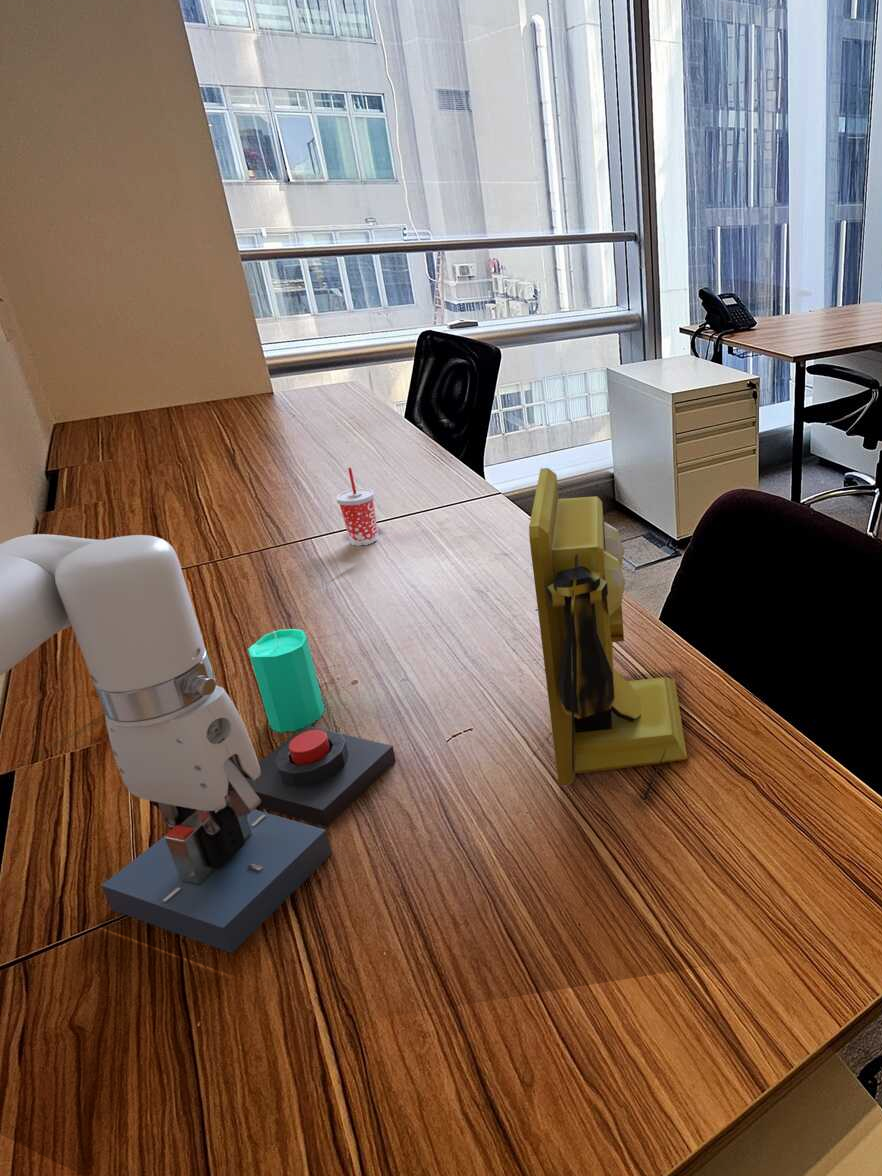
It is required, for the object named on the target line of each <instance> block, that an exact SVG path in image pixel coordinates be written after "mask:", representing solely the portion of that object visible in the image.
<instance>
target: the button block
mask: <svg viewBox="0 0 882 1176" xmlns="http://www.w3.org/2000/svg"><path fill="white" fill-rule="evenodd" d="M311 730H321V731H324V732H325V733H326V734H327V738H328V742H329V746H330V750H329V753H328V754H327V755H326V756H325V757H323V758H322V759H320V760H318V761H315V762H313V763H311V764H304V765H297V764H295V763H294V762H293V761H292V758H291V754H290V750H289V744H290V742H291V741H292V739H294V738H295V737H296V736H298V735H299V734H301V733H304V732H307V731H311ZM395 756H396V755H395V751H394V746H393V745H390V744H387V743H382V742H378V741H373V740H369V739H365V738H361V737H357V736H353V735H349V734H345V733H340V732H337V731H332V730H328V729H324V728H320V727H315V726H312V725H310V726H308V725H306V726H305V727H304V728H302V729H299V730H298V731H296V733H295V734H293V735H292V736H291V737H289V738H288V739H287V740H286V741H284V742H283V743H282V744H280V745H279V746H278V747H277V748H275V749H274V750H273V751H272V752H270V753H269V754H268V755H266V756H265V757H264V758H262V759H261V760H260V761H258V763H259V767H260V777H259V778H257V779H256V780H255V781H251V780H247V781H248V783H249V784H250V786H251V787H252V788H253V790H254V791H255V793H256V794H257V795H258V797H259V798H260V800H261V803H260V804H259V805H258V806H257V807H256V808H260V809H264V810H266V811H270V812H273V813H277V814H281V815H285V816H287V817H291V818H293V819H294V818H295V819H298V820H300V821H301V820H302V821H305V822H309V823H312V824H316V825H318V826H323V827H327V828H328V827H329V826H330V825H331V824H332V823H333V822H335V820H336V819H338V817H340V815H342V814H343V813H344V812H345V811H346V810H347V809H348V808H349V807H350V806H351V805H352V804H353V803H354V802H355V801H356V800H357V799H358V798H360V796H361V795H363V794H364V793H365V792H366V791H367V790H368V789H369V788H370V787H371V786H372V785H373V784H374V783H375V782H377V780H378V779H380V778H381V776H382V775H384V774H385V773H386V772H387V771H388V770H389V769H390V768H391V767H392V766H393V765H394V764H395V763H397V760H396V757H395Z"/></svg>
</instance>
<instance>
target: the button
mask: <svg viewBox="0 0 882 1176" xmlns="http://www.w3.org/2000/svg"><path fill="white" fill-rule="evenodd" d="M289 750H290V754H291V758H292V761H293V762H294V763H295V764H297V765H304V764H311V763H313V762H315V761H318V760H320V759H322V758H323V757H325V756H326V755H327V754H328V753H329V750H330V746H329V742H328V738H327V734H326V733H325V732H324V731H321V730H311V731H307V732H304V733H301V734H299V735H298V736H296V737H295V738H294V739H292V741H291V742H290V744H289Z"/></svg>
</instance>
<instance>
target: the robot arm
mask: <svg viewBox="0 0 882 1176" xmlns="http://www.w3.org/2000/svg"><path fill="white" fill-rule="evenodd" d="M69 627H71V628H72V631H73V634H74V636H75V638H76V641H77V643H78V646H79V649H80V652H81V654H82V657H83V659H84V662H85V664H86V667H87V670H88V672H89V676H90V678H91V680H92V683H93V686H94V689H95V691H96V694H97V698H98V699H99V703H100V705H101V708H102V710H103V712H104V719H105V724H106V729H107V735H108V739H109V743H110V746H111V750H112V753H113V758H114V761H115V764H116V766H117V769H118V772H119V774H120V777H121V778H122V782H123V783H124V785H125V787H126V789H127V791H128V792H129V793H130V794H131V795H133V796H135V797H137V798H139V799H141V800H146V801H150V802H151V804H152V806H154V807H156V808H157V809H158V810H160V813H161V817H162V818H163V821H164V823H165V825H167V826H168V827H170V828H174V827H175V826H177V825H178V826H179V825H180V824H181V823H182V822H183V821H184V820H186V819H187V818H188V817H189V816H190V815H191V814H193V813H194V812H195V811H196V810H197V811H198V814H199V817H200V819H201V822H202V825H203V828H204V830H205V832H203V833H202V835H201V839H202V842H203V845H204V848H205V850H206V853H207V856H208V859H209V862H210V865H211V867H212V868H214V869H220V868H221V867H222V866H223V865H224V864H225V863H226V862H227V861H228V860H229V859H230V858H231V857H232V856H233V855H234V854H235V853H236V852H237V851H238V850H239V849H241V848H242V847H243V845H244V843H245V839H244V836H243V833H242V830H241V827H240V824H239V821H238V818H237V817H238V816H243V815H247V814H249V813H251V812H252V811H253V810H254V809H255V810H256V808H258V807H257V806H258V805H259V804H260V803H261V800H260V798H259V797H258V795H257V794H256V793H255V791H254V790H253V788H252V787H251V786H250V784H249V783H248V781H247V780H251V781H255V780H256V779H257V778H259V777H260V767H259V760H258V757H257V753H256V751H255V748H254V746H253V743H252V740H251V738H250V735H249V733H248V731H247V728H246V726H245V724H244V722H243V719H242V718H241V716H240V713H239V711H238V710H237V708H236V706H235V704H234V703H233V702H234V701H232V699H231V697H230V696H229V694H228V693H227V691H226V690H225V688H224V687H222V686H219V685H217V681H216V678H215V674H214V671H213V667H212V664H211V661H210V658H209V655H208V652H207V649H206V646H205V642H204V639H203V636H202V632H201V628H200V625H199V622H198V619H197V615H196V612H195V608H194V605H193V602H192V599H191V596H190V593H189V589H188V586H187V582H186V579H185V576H184V573H183V570H182V567H181V563H180V559H179V558H178V555H177V552H176V550H175V549H174V547H173V546H172V545H171V544H170V542H168V541H166V540H165V539H163V538H160V537H158V536H155V535H149V534H133V535H121V536H116V537H110V538H107V539H95V538H87V537H85V538H84V537H76V536H69V535H59V534H49V533H47V534H46V533H35V534H27V535H21V536H17V537H14V538H10V539H9V540H6V541H4V542H2V543H0V677H1V676H3V675H4V674H6V673H8V672H9V671H10V670H12V669H13V668H14V667H15V666H16V665H18V664H19V663H21V661H23V660H24V659H25V658H26V657H28V656H30V654H31V653H33V652H34V651H35V650H36V649H38V648H39V647H40V646H41V645H42V644H44V643H45V642H46V641H48V639H50V638H51V637H52V636H54V635H56V634H58V633H60V632H62V631H63V630H66V629H67V628H69ZM216 810H219V811H218V812H217V813H215V811H216Z"/></svg>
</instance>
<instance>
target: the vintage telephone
mask: <svg viewBox="0 0 882 1176" xmlns="http://www.w3.org/2000/svg"><path fill="white" fill-rule="evenodd" d="M558 487H559V486H558V477H557V473H556V472H554V471H553V470H552V469H550V468H549V467H544V468H543V467H541V468H540V470H539V473H538V480H537V484H536V490H535V494H534V500H533V505H532V509H531V510H532V511H531V515H530V520H529V525H528V535H529V537H528V538H529V546H530V547H529V548H530V554H531V563H532V571H533V580H534V588H535V595H536V604H537V605H536V606H537V613H538V621H539V629H540V630H539V631H540V639H541V648H542V655H543V663H544V673H545V682H546V688H547V689H546V690H547V698H548V706H549V714H550V715H549V716H550V723H551V731H552V739H553V748H554V755H555V756H554V757H555V763H556V773H557V782H558V787H565V786H568V785H570V784H571V783H572V782H573V781H574V779H575V777H576V775H577V776H579V777H580V776H581V777H583V778H585V779H588V780H590V781H593V782H595V783H597V784H599V785H603V786H605V787H608V788H610V789H612V790H615V791H618V792H621V793H624V794H625V795H628V796H631V797H633V798H635V799H637V800H640V801H644V802H646V801H647V798H648V796H649V793H650V790H651V788H652V786H653V783H654V781H655V778H656V775H657V773H658V771H659V768H660V765H661V764H668V763H667V762H669V763H676V762H675V761H678V762H684V761H686V760H687V759H688V754H687V748H686V747H687V746H686V742H685V735H684V728H683V723H682V716H681V709H680V704H679V698H678V697H679V696H678V691H677V690H678V689H677V684H676V679H675V678H669V677H655V678H654V677H653V678H643V679H638V680H637V679H636V680H628V681H627V679H625V678H624V677H623V675H621V674H620V673H619V672H618V671H617V670H615V669H614V647H613V645H614V643H620V642H625V632H624V619H623V607H622V606H623V605H622V604H623V599H624V591H625V585H626V579H625V576H624V572H623V570H622V566H623V562H624V561H623V560H624V554H625V548H624V546H623V542H622V539H621V536H620V534H619V531H618V529H616V528H615V527H613V526H612V525H610V524H609V523H608V522H606V521H604V509H603V501H602V500H601V499H600V498H599V496H598V495H597V496H596V495H595V496H582V497H568V498H567V497H566V498H560V497H559V488H558ZM683 760H684V761H683ZM660 763H661V764H660ZM652 765H657V768H656V770H655V772H654V774H653V777H652V779H651V781H650V783H649V786H648V788H647V790H646V792H645V795H644V797H643V799H642V798H639V797H636V796H634V795H631V794H629V793H626V792H624V791H622V790H619V789H616V788H614V787H611V786H609V785H607V784H604V783H602V782H599V781H597V780H595V779H591V778H589V777H588V776H584V775H582V774H584V773H585V774H586V773H593V772H600V771H603V772H604V771H610V770H619V769H626V768H627V769H628V768H635V767H643V766H644V767H645V766H652ZM577 773H578V774H577Z"/></svg>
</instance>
